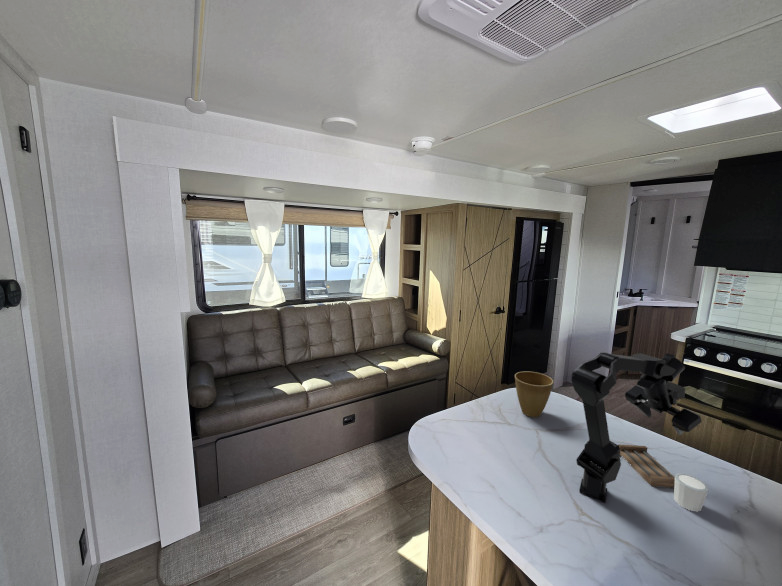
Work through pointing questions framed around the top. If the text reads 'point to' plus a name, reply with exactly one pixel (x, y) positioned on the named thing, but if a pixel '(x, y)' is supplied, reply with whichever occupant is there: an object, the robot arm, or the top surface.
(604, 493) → the robot arm
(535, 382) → the plant pot
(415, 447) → the top surface
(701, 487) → the white tapered cylinder
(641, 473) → the rack
